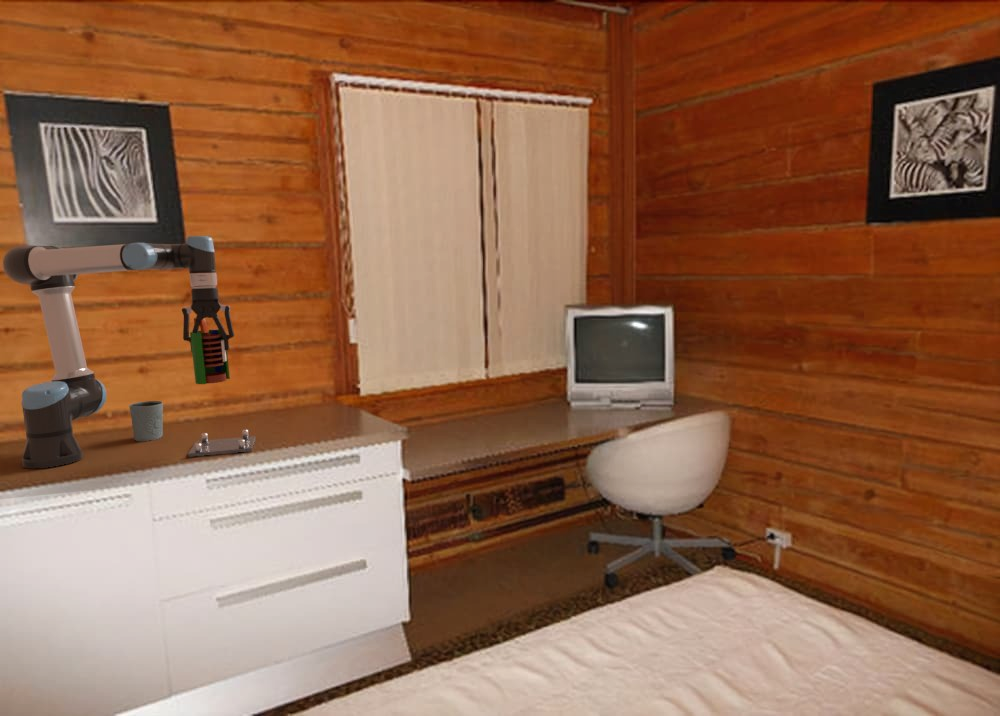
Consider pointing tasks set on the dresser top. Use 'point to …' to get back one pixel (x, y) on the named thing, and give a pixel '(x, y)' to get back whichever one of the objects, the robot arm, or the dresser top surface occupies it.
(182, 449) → the dresser top surface
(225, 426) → the dresser top surface
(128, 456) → the dresser top surface
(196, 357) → the motor
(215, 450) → the mounting plate
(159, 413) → the grey embossed cup
